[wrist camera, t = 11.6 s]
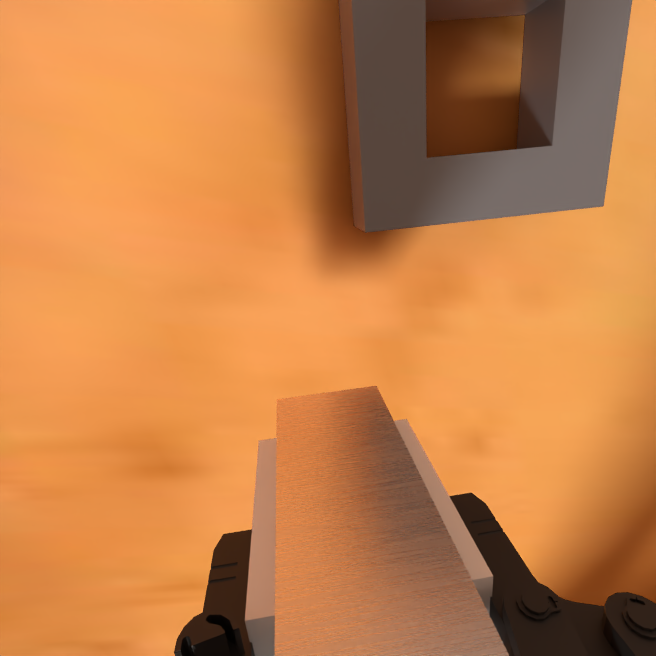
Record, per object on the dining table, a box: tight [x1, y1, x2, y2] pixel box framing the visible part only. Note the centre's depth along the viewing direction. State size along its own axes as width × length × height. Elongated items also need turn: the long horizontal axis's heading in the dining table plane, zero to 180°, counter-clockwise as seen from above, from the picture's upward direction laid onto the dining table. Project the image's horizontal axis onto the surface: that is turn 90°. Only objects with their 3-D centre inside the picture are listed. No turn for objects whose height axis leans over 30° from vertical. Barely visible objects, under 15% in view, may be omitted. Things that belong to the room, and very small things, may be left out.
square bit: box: [275, 386, 509, 656], centre depth 11 cm, size 4×4×12 cm
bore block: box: [339, 0, 632, 233], centre depth 19 cm, size 12×12×3 cm
